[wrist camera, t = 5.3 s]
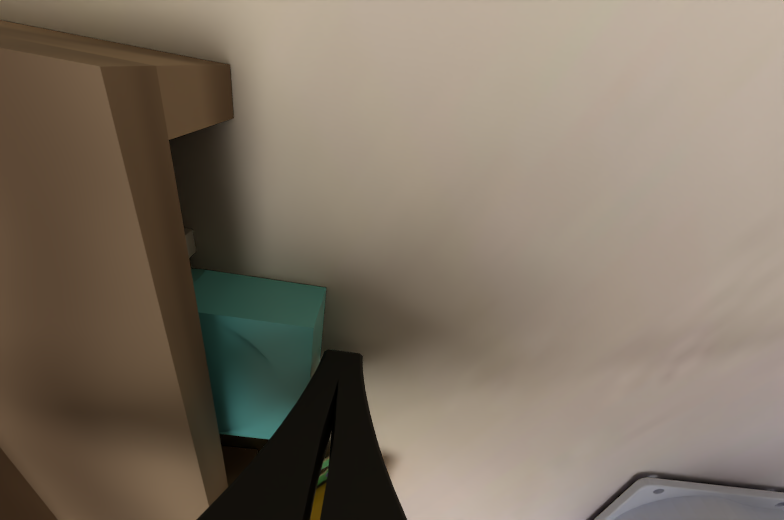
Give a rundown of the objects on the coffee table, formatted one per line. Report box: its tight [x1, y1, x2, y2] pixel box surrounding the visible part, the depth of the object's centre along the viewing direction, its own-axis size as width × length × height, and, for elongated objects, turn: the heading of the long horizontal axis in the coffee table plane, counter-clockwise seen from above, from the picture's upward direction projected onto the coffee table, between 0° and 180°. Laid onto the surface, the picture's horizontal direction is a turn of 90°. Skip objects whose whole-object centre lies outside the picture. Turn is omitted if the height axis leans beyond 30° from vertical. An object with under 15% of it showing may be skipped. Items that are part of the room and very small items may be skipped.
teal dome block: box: [191, 269, 326, 439], centre depth 12 cm, size 7×6×2 cm
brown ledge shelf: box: [0, 20, 257, 520], centre depth 10 cm, size 6×18×6 cm, turn 170°
